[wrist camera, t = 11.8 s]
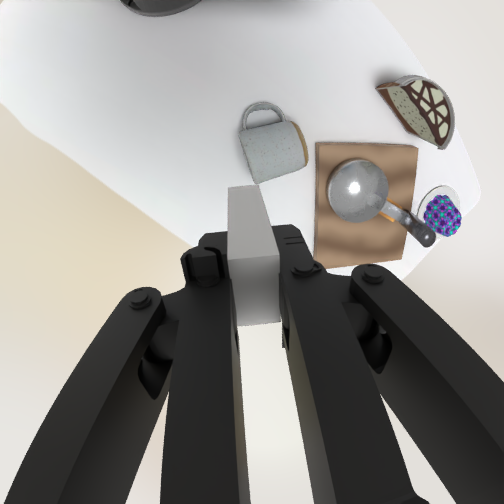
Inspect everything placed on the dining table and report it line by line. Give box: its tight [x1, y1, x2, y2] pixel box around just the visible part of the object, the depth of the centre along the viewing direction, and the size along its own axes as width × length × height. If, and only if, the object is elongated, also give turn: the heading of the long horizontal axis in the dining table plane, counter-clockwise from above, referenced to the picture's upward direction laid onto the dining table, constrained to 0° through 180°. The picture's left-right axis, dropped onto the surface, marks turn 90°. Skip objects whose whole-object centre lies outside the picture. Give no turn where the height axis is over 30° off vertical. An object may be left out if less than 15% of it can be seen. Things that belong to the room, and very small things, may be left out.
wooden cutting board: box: [313, 143, 418, 269], centre depth 46 cm, size 22×18×2 cm
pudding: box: [418, 186, 462, 240], centre depth 47 cm, size 12×12×5 cm
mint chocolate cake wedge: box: [375, 75, 455, 150], centre depth 33 cm, size 12×6×10 cm, turn 47°
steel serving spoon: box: [326, 158, 436, 247], centre depth 40 cm, size 18×10×8 cm, turn 66°
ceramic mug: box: [239, 103, 308, 184], centre depth 37 cm, size 11×8×8 cm
